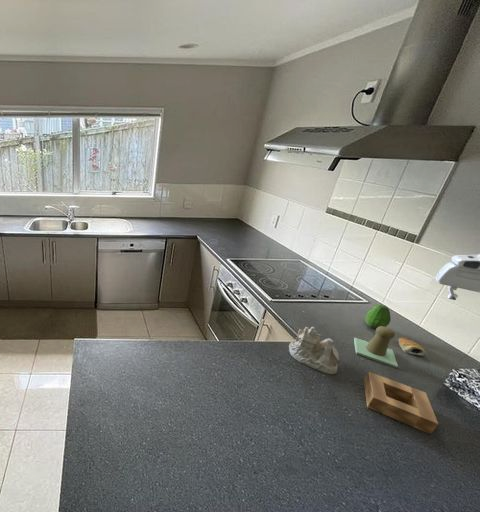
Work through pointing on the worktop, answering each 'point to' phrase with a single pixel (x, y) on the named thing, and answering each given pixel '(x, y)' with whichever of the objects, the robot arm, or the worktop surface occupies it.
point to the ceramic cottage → (315, 351)
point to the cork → (380, 341)
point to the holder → (411, 413)
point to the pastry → (411, 347)
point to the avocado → (378, 316)
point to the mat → (362, 351)
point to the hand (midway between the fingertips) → (472, 303)
